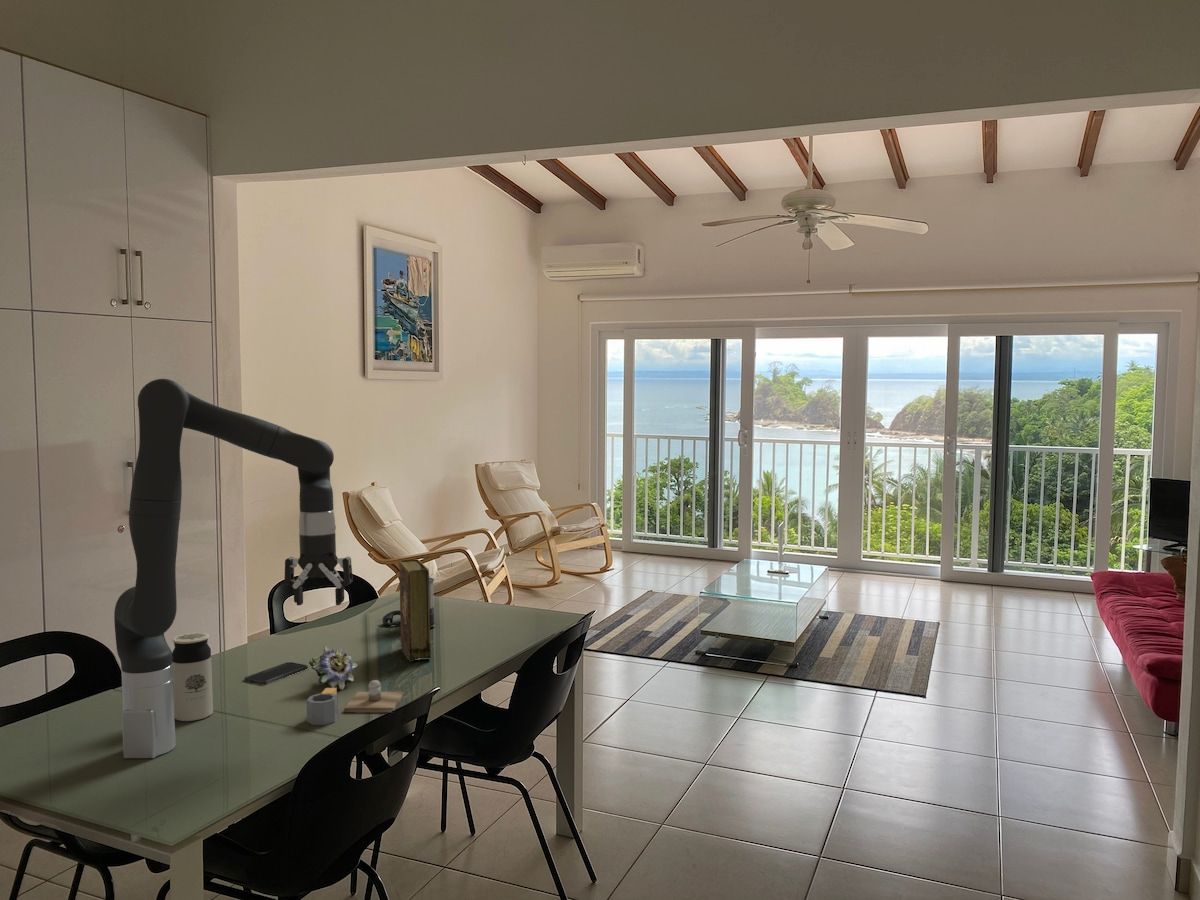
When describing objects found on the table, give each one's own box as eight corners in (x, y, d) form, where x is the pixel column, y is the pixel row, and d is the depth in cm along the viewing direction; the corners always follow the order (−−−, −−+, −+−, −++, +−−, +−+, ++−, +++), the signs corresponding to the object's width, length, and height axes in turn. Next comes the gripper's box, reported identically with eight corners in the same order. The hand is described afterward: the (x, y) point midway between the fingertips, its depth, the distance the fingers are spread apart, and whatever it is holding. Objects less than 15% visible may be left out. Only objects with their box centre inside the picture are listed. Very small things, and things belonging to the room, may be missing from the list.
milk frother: (436, 630, 270) (435, 582, 269) (383, 634, 266) (382, 585, 265) (433, 618, 284) (432, 572, 283) (382, 622, 280) (381, 575, 279)
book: (400, 647, 251) (398, 560, 250) (419, 645, 253) (417, 558, 252) (410, 663, 236) (408, 571, 235) (430, 661, 238) (428, 569, 237)
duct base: (393, 712, 200) (392, 688, 200) (344, 712, 200) (343, 688, 200) (404, 695, 211) (403, 672, 211) (358, 695, 211) (357, 672, 211)
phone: (310, 665, 233) (264, 682, 220) (310, 670, 233) (264, 686, 220) (288, 661, 236) (242, 677, 223) (288, 665, 237) (242, 682, 223)
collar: (332, 725, 193) (331, 702, 193) (304, 725, 193) (303, 702, 193) (345, 709, 203) (344, 687, 202) (318, 709, 203) (318, 687, 202)
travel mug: (175, 712, 201) (172, 634, 200) (214, 707, 204) (211, 630, 203) (172, 724, 194) (169, 643, 193) (212, 719, 197) (209, 639, 196)
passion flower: (341, 711, 217) (325, 681, 209) (308, 696, 221) (292, 667, 214) (370, 675, 224) (356, 645, 216) (338, 661, 229) (323, 632, 221)
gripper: (278, 534, 190) (280, 609, 191) (345, 533, 190) (347, 608, 191) (290, 528, 197) (293, 600, 198) (354, 528, 197) (356, 600, 198)
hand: (319, 604), depth 194 cm, fingers open, 8 cm apart
